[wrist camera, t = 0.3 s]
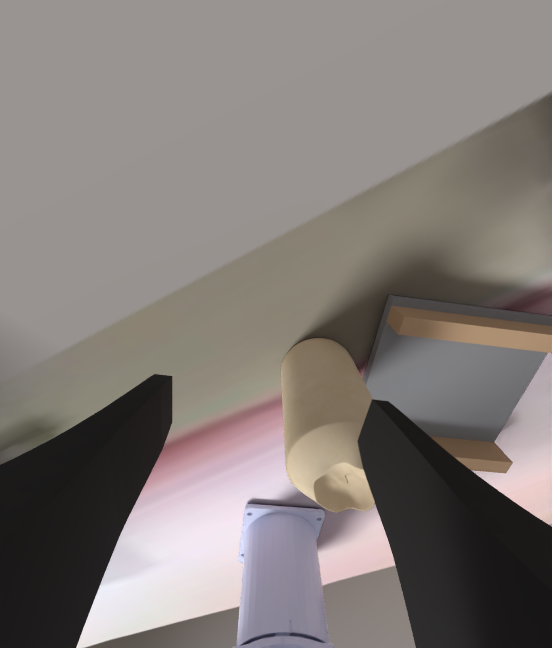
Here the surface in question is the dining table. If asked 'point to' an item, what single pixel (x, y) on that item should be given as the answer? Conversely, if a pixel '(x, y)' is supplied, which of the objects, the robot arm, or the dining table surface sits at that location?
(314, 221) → the dining table surface
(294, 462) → the candle
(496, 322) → the tray
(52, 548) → the robot arm
